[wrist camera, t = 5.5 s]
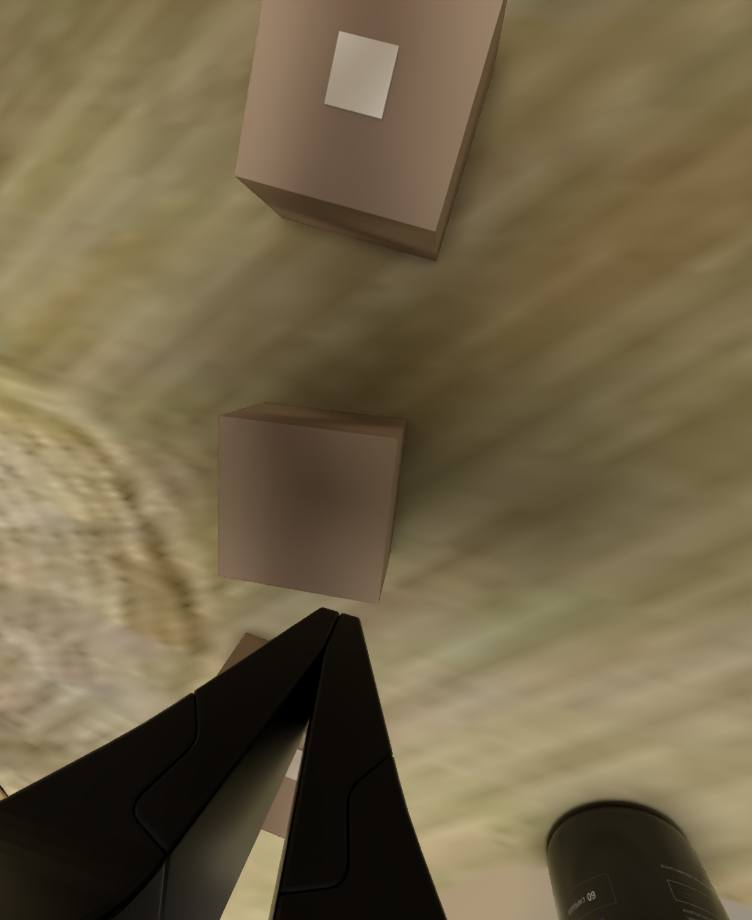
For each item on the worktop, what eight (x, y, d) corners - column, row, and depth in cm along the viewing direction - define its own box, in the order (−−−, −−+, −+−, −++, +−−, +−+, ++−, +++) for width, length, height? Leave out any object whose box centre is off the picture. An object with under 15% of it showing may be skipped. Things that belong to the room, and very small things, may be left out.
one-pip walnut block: (493, 70, 14) (515, -45, 10) (436, 262, 15) (435, 230, 11) (321, 27, 14) (276, -99, 10) (283, 218, 16) (232, 174, 12)
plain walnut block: (406, 419, 17) (398, 439, 13) (390, 552, 18) (378, 604, 15) (266, 402, 18) (218, 415, 14) (262, 531, 19) (218, 576, 15)
